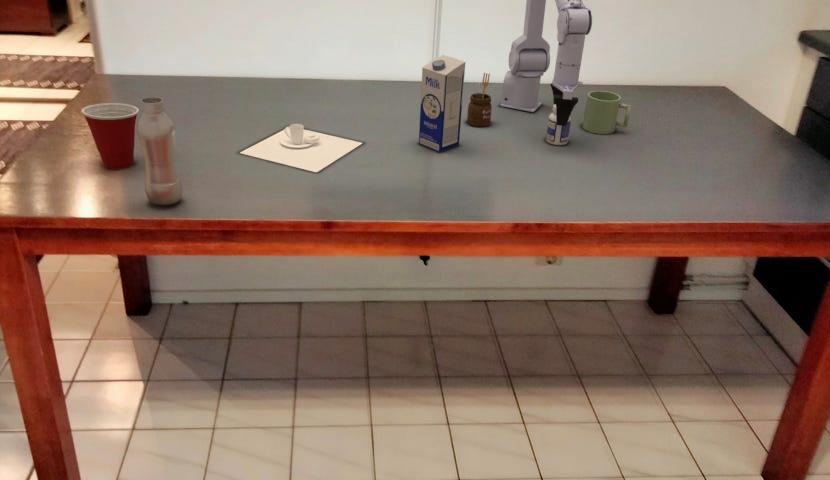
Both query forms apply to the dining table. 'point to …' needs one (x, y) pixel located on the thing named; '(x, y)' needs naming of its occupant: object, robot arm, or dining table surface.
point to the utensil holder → (480, 107)
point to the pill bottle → (557, 130)
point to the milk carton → (441, 103)
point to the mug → (603, 112)
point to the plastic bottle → (159, 153)
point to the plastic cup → (113, 132)
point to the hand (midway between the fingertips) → (560, 119)
